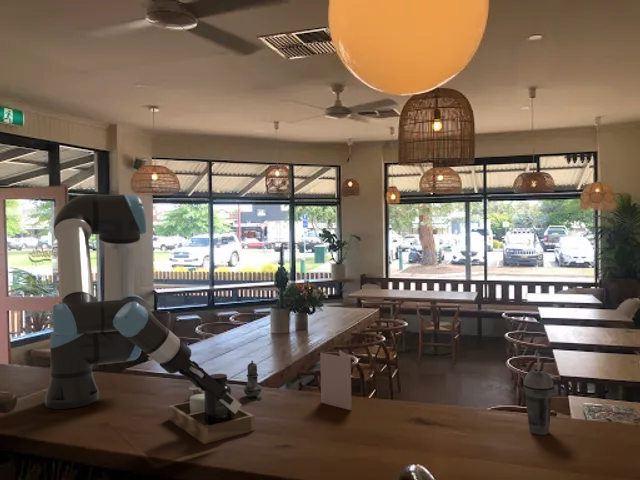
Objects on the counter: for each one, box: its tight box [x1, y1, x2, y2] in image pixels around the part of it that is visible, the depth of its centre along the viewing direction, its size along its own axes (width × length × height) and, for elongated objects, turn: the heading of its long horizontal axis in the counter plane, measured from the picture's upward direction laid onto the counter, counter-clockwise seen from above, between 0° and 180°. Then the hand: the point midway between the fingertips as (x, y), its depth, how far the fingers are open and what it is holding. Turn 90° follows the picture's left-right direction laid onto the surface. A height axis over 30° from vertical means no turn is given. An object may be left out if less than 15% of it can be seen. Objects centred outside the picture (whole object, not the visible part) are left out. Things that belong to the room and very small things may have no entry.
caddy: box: [168, 400, 256, 445], centre depth 144 cm, size 22×14×4 cm, turn 37°
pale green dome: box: [189, 394, 205, 414], centre depth 148 cm, size 6×6×6 cm
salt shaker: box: [242, 360, 263, 402], centre depth 168 cm, size 6×6×12 cm
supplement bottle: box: [204, 373, 233, 426], centre depth 140 cm, size 7×7×12 cm
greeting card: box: [319, 349, 353, 411], centre depth 161 cm, size 11×7×15 cm, turn 14°
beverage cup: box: [522, 352, 555, 436], centre depth 138 cm, size 7×7×20 cm
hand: (230, 405), depth 142 cm, fingers closed on supplement bottle, 7 cm apart
